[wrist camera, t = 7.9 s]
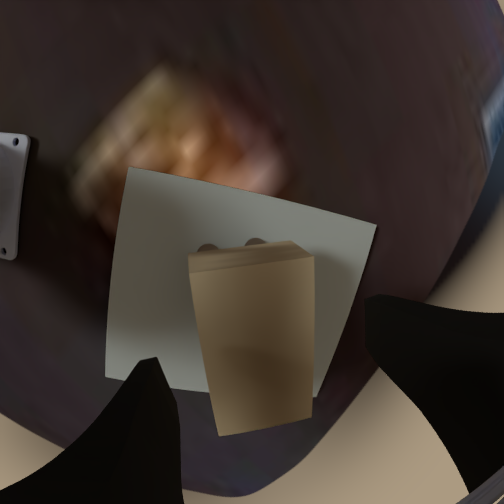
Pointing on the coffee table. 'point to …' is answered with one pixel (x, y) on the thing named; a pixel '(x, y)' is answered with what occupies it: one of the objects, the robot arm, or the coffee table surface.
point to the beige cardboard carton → (255, 332)
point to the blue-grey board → (222, 236)
